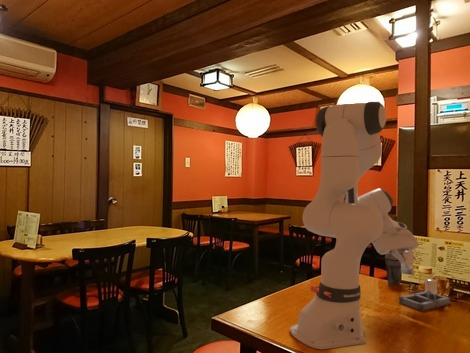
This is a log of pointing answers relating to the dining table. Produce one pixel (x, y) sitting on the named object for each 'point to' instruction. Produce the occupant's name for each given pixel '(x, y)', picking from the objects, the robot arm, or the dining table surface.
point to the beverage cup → (393, 269)
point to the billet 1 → (407, 262)
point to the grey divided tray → (423, 301)
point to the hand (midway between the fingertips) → (408, 260)
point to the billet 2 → (431, 288)
